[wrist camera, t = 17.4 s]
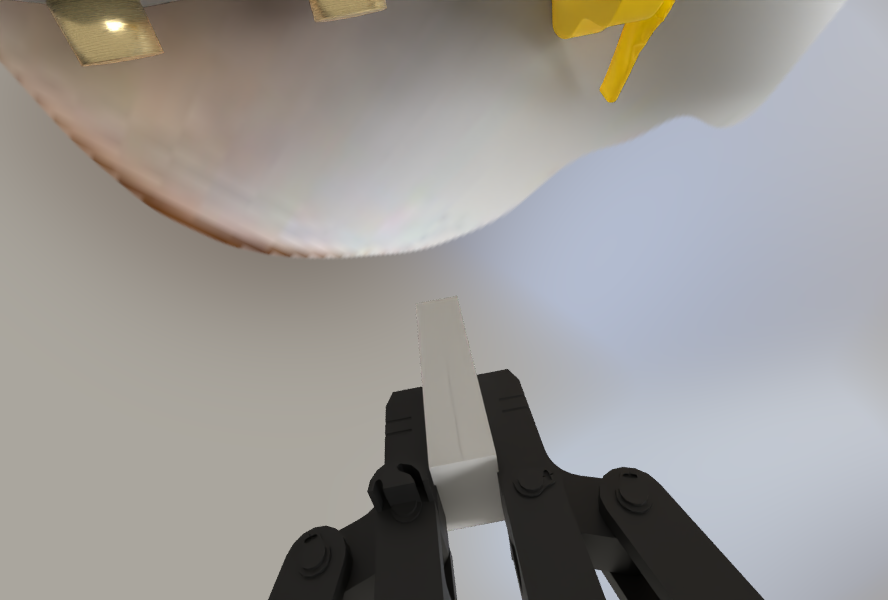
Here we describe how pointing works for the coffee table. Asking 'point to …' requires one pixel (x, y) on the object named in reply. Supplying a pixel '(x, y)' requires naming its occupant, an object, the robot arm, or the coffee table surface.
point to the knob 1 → (105, 30)
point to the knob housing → (145, 1)
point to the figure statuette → (607, 4)
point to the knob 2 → (344, 8)
